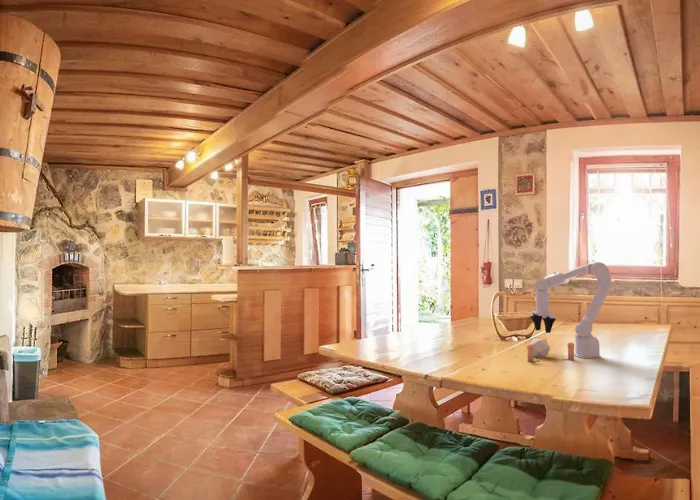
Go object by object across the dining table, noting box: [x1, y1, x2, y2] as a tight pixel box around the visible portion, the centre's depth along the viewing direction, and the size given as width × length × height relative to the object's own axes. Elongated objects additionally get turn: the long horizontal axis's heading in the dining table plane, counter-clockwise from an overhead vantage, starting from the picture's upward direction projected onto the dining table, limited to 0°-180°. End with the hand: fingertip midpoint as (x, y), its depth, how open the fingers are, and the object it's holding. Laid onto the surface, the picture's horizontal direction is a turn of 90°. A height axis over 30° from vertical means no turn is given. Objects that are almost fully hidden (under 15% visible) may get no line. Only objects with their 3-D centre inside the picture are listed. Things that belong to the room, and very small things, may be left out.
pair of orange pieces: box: [526, 342, 575, 363], centre depth 187 cm, size 23×3×8 cm, turn 101°
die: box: [530, 338, 551, 359], centre depth 195 cm, size 8×9×10 cm
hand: (543, 331), depth 205 cm, fingers open, 7 cm apart
